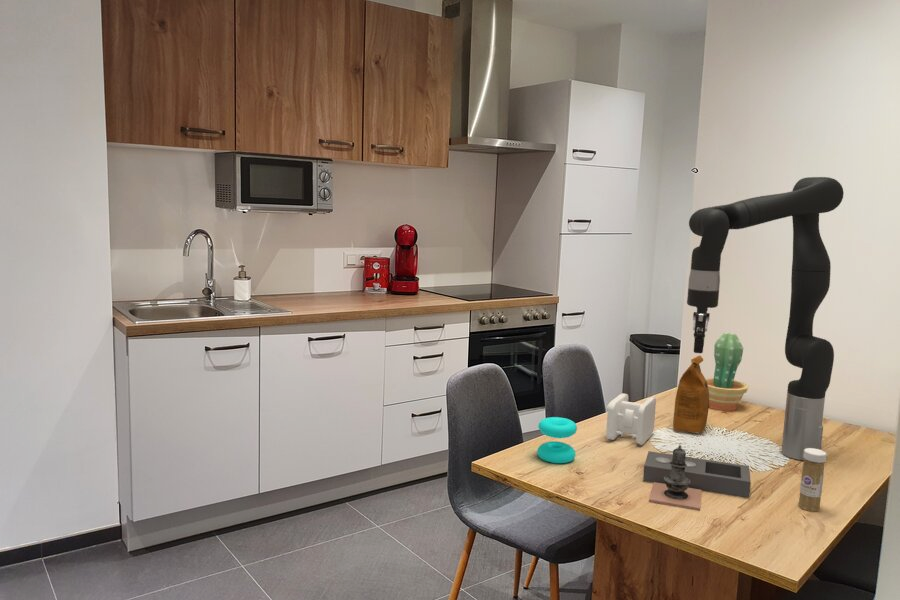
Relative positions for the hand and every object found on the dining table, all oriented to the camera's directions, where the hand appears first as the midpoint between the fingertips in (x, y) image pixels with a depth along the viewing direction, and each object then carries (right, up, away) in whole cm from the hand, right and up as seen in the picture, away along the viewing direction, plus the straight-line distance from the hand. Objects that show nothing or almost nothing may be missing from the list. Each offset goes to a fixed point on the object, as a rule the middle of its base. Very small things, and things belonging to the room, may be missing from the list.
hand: (698, 349), depth 185 cm
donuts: (-36, -29, +4) cm, 47 cm away
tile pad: (-12, -33, -19) cm, 40 cm away
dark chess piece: (-12, -32, -19) cm, 40 cm away
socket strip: (-4, -32, -9) cm, 33 cm away
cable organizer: (-13, -27, +21) cm, 37 cm away
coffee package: (+8, -26, +32) cm, 42 cm away
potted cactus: (+28, -23, +56) cm, 67 cm away
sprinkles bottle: (+17, -34, -23) cm, 45 cm away
